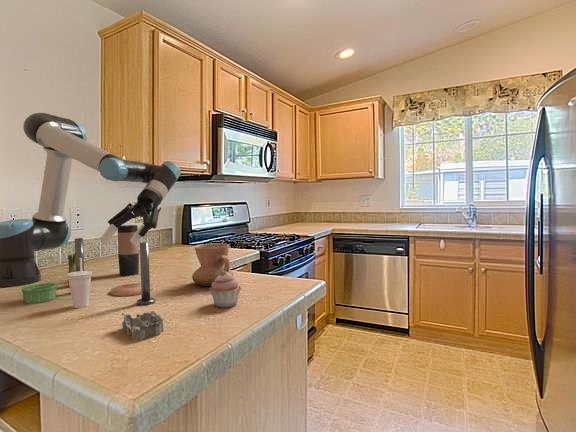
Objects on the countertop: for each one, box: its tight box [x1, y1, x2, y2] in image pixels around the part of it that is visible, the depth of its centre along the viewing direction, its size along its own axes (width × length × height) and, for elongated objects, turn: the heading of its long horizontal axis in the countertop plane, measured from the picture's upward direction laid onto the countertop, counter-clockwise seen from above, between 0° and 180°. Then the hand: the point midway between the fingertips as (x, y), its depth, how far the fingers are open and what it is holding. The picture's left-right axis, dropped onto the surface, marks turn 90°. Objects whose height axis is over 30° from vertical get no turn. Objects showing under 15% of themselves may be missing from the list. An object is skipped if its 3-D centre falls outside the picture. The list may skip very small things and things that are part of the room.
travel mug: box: [117, 224, 140, 277], centre depth 142 cm, size 8×8×20 cm
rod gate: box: [74, 237, 156, 306], centre depth 109 cm, size 35×5×18 cm, turn 65°
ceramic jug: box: [191, 242, 234, 287], centre depth 124 cm, size 18×14×14 cm
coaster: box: [110, 282, 154, 297], centre depth 117 cm, size 13×13×1 cm
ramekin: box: [21, 282, 58, 305], centre depth 107 cm, size 9×9×4 cm
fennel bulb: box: [67, 251, 76, 284], centre depth 124 cm, size 6×5×12 cm
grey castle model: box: [121, 310, 165, 340], centre depth 81 cm, size 11×8×4 cm
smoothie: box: [66, 258, 93, 309], centre depth 100 cm, size 6×6×14 cm
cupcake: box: [208, 271, 242, 309], centre depth 100 cm, size 9×9×10 cm
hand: (117, 242), depth 110 cm, fingers open, 13 cm apart
